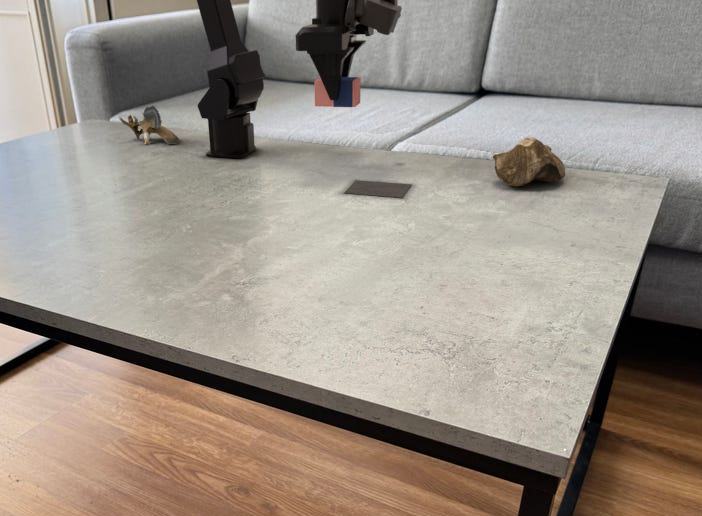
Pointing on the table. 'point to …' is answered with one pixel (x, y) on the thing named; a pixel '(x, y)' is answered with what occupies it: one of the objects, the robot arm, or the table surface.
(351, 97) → the eraser
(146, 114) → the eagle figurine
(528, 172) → the fossilized seashell
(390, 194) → the dark brown rectangular plate
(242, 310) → the table surface
